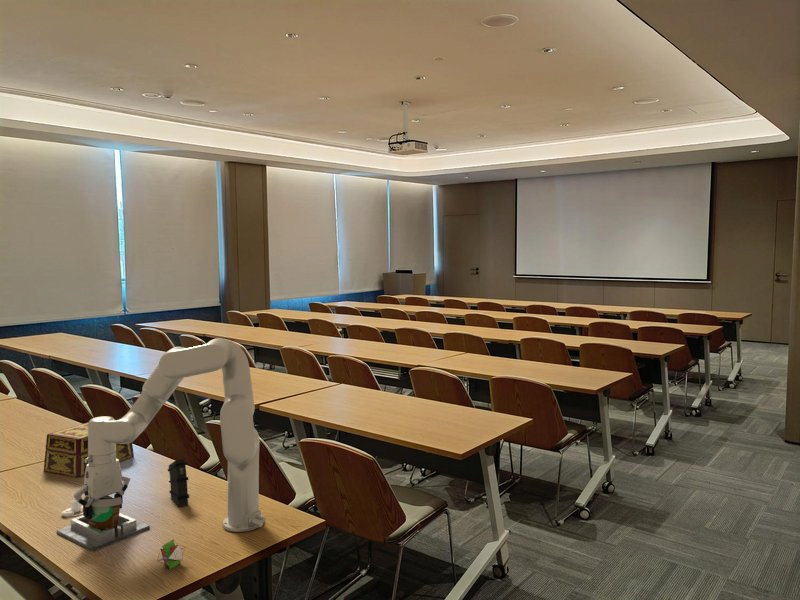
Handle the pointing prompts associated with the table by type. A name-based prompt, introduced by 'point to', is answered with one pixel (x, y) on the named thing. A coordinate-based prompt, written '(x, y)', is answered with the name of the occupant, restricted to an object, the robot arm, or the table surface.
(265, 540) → the table surface
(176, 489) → the black tall block
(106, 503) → the food container
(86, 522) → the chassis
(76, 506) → the white curved piece
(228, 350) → the robot arm
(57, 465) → the decorative box
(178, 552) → the geometric puzzle
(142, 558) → the table surface
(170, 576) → the table surface
